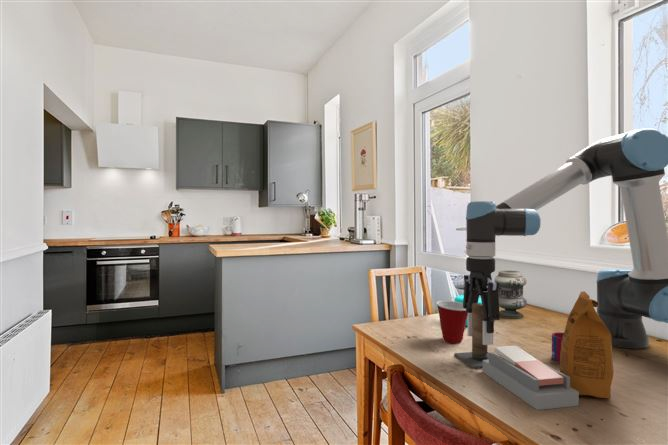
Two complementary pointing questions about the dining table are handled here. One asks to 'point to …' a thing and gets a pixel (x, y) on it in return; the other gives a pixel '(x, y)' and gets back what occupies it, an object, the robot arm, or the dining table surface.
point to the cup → (556, 345)
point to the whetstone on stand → (530, 385)
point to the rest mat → (470, 360)
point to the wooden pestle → (478, 333)
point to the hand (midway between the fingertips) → (480, 339)
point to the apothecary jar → (511, 293)
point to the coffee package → (587, 350)
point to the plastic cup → (452, 320)
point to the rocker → (529, 365)
